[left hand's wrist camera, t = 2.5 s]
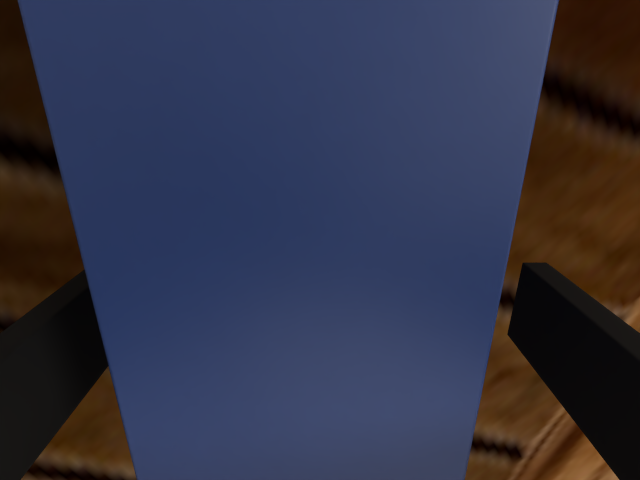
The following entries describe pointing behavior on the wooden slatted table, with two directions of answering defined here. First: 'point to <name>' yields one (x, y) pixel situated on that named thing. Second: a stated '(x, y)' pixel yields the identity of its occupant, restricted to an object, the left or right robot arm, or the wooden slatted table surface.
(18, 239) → the wooden slatted table surface
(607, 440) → the left robot arm
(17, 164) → the wooden slatted table surface
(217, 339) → the box
